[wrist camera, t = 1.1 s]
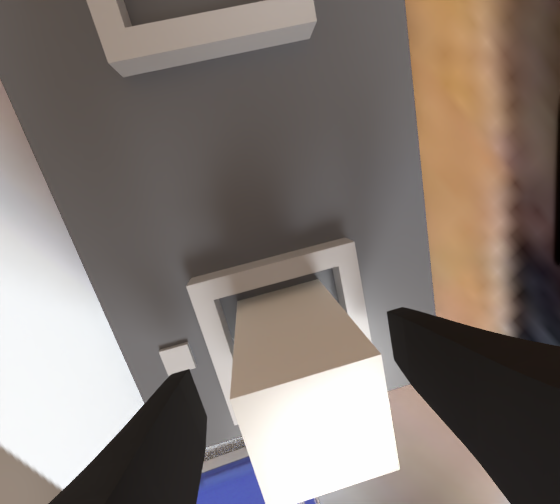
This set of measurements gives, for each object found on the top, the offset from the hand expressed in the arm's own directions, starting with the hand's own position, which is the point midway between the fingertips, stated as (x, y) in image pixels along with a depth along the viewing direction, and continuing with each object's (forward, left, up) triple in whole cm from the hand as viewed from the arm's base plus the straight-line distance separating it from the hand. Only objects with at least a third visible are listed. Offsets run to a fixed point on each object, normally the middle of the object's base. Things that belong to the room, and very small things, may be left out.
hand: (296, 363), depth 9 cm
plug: (0, 0, -3) cm, 3 cm away
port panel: (0, -7, -3) cm, 8 cm away
